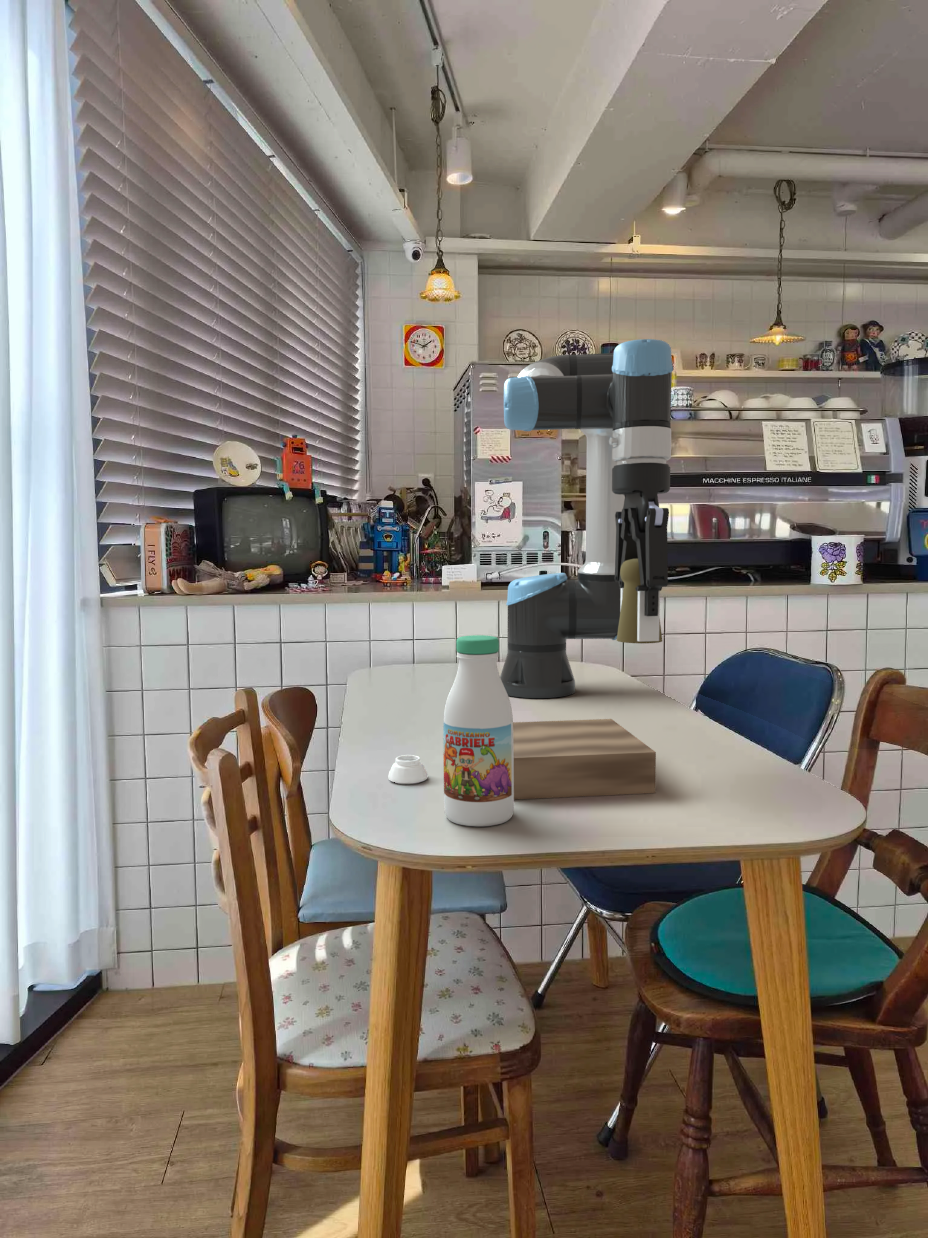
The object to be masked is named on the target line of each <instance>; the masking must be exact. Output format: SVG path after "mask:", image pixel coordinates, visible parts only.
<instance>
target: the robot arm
mask: <svg viewBox="0 0 928 1238" xmlns="http://www.w3.org/2000/svg"><path fill="white" fill-rule="evenodd" d="M672 361H673V360H672V347H671V345H670V344H669V343H668V342H666V341H664V340H662V339H654V338H653V339H652V338H646V339H645V338H643V339H632V340H628V341H624V342H621V343H619V344H618V345H617V346H616V347H615V348H614V350H613V352H609V353H607V352H606V353H585V354H560V355H554V356H548V357H546V358H542V359H539V360H537V361H535V362H532V363H530V364H529V365H527V366H525V367H524V368H523V369H522V370H521V371H520V372H519V374H518V375H517V377H509V378H507V379H506V380H505V381H504V382H503V383H504V384H503V421H504V422H503V423H504V426H505V428H506V429H508V430H510V431H523V432H531V431H550V430H551V431H552V430H554V431H555V430H557V431H558V430H579V431H580V432H582V434H584V436H585V437H586V466H585V467H586V470H585V471H586V477H585V478H586V480H585V483H586V484H585V485H586V487H585V496H586V497H585V498H586V499H585V500H586V501H585V561H584V563H583V565H581V566H580V567H579V569H577V579H568V576H567V574H566V573H565V572H556V573H555V572H554V573H546V574H538V575H531V576H526V577H520V578H516V579H514V580H512V581H511V582H510V583H509V584H508V586H507V601H506V603H505V604H506V606H507V641H506V643H507V650H506V651H507V652H506V657H505V660H504V662H503V666H502V669H501V672H500V678H501V681H502V683H503V685H504V688H505V690H506V692H507V694H508V697H509V696H510V697H514V698H523V699H549V698H551V699H552V698H561V697H566V696H570V695H573V694H575V693H576V679H575V676H574V674H573V671H572V667H571V665H570V660H569V658H568V655H567V640H612V641H617V633H618V626H619V619H620V612H621V605H622V598H623V590H624V582H623V581H622V579H621V575H620V569H621V565H622V564H623V562H625V561H627V560H630V559H638V563H639V573H640V583H641V585H638V586H637V587H636V588H635V589H636V591H638V614H637V641H639V642H641V641H659V616H660V610H661V609H660V605H661V604H660V603H661V602H660V601H661V600H660V599H661V598H660V597H661V596H660V595H661V591H662V589H663V587H665V588H666V587H667V586H668V585H669V568H668V561H669V560H668V557H669V556H668V553H669V552H668V523H669V515H670V509H669V508H668V507H660V503H659V497H658V495H661V494H667V493H669V491H670V490H671V466H669V463H667V461H669V460H671V458H672V428H671V416H672V415H671V414H672V413H671V411H672V410H671V409H672V407H671V406H672V381H673V380H672V377H673V371H674V366H673V364H672ZM660 617H661V616H660Z"/></svg>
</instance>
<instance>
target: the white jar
mask: <svg viewBox="0 0 928 1238" xmlns="http://www.w3.org/2000/svg"><path fill="white" fill-rule="evenodd" d="M394 760H395V762H394V763H393V764H392V766H391V768H390V769H389V772H388V777H387V778H388V780H389V781H391V782H392V783H394V782H395V784H397V785H414V784H419V783H422V782H424V781H426V780H427V779H428V775H429V774H428V772H427V769H426V768H425V765H424V763H423V762H421V759H420V756H418V755H413V754H405V755H404V754H403V755H399V756H396V757H395V759H394Z"/></svg>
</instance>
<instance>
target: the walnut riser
mask: <svg viewBox="0 0 928 1238" xmlns="http://www.w3.org/2000/svg"><path fill="white" fill-rule="evenodd" d="M513 748H514V801H515V800H533V799H554V798H558V799H559V798H574V797H577V798H578V797H594V796H595V797H596V796H597V797H598V796H615V795H616V796H617V795H618V796H619V795H638V794H656V775H657V774H656V768H657V767H656V765H657V764H656V760H657V752H656V751H655V750H654V749H652V747H650V746H648V745H647V744H646V743H645V742H643V741H642V740H641V739H639V738H638V737H636V736H635V735H634V734H632V732H630V731H628V730H627V729H626V728H624V727H623V726H622V725H620V724H619V723H618V722H617V721H615V720H613V719H612V718H600V719H599V718H596V719H571V720H570V719H568V720H544V721H543V720H541V721H516V722H514V721H513Z"/></svg>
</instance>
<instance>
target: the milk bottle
mask: <svg viewBox="0 0 928 1238" xmlns="http://www.w3.org/2000/svg"><path fill="white" fill-rule="evenodd" d="M499 644H500V642H499V638H498V637H496V636H492V635H483V634H482V635H481V634H477V635H476V634H475V635H463V636H459V637H458V638H456V646H455V647H456V652H457V653H456V658H457V659H458V667H457V672H456V676H455V677H454V681H453V684H452V686H451V688H450V691H449V693H448V695H447V698H446V701H445V706H444V711H443V738H442V739H443V742H442V743H443V751H442V752H443V754H442V755H443V807H444V808H443V809H444V814H445V817H446V819H447V820H449V821H450V822H452V823H454V824H457V825H461V826H466V827H490V826H497V825H501V824H504V823H506V822H508V821H510V819H511V818H512V816H513V814H514V806H515V805H514V804H515V800H514V748H513V722H514V721H513V719H514V718H513V707H512V703H511V700H510V697H509V695H508V694H507V692H506V690H505V688H504V685H503V683H502V681H501V678H500V676H501V674H500V672H499V668H498V664H497V663H498V660H497V659H498V658H499V655H500V654H499V650H500V645H499Z"/></svg>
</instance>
